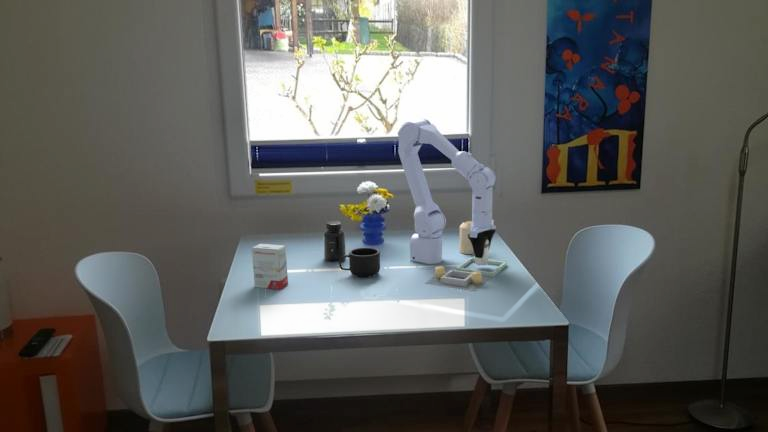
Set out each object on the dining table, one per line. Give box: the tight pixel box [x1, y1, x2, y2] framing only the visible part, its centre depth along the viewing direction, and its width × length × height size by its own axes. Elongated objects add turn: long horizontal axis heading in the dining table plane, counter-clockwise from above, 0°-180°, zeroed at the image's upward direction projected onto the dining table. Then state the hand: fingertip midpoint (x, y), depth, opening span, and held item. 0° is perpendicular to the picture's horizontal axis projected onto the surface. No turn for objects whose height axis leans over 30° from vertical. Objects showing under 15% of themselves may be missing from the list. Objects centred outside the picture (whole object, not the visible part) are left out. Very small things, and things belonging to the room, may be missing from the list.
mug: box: [338, 247, 381, 279], centre depth 208 cm, size 12×9×7 cm
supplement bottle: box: [322, 220, 347, 263], centre depth 223 cm, size 7×7×12 cm
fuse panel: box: [425, 265, 491, 292], centre depth 199 cm, size 15×12×4 cm
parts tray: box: [455, 257, 508, 278], centre depth 210 cm, size 12×12×2 cm
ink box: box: [251, 243, 289, 290], centre depth 200 cm, size 9×5×12 cm, turn 71°
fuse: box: [474, 239, 490, 266], centre depth 208 cm, size 4×4×7 cm
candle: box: [459, 220, 475, 255], centre depth 228 cm, size 6×6×10 cm
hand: (481, 255), depth 209 cm, fingers closed on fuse, 4 cm apart
